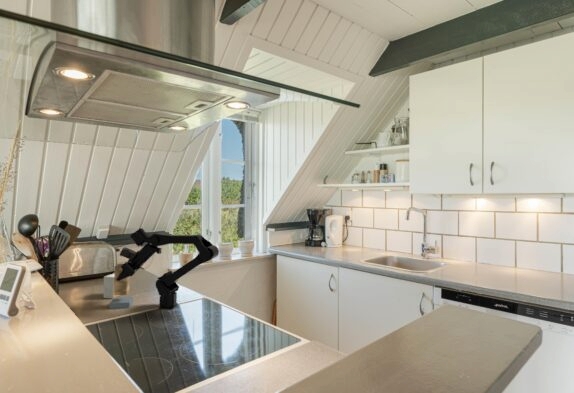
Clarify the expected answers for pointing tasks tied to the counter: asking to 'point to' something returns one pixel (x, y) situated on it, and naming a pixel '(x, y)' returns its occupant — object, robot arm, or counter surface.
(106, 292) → the small box
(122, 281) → the oak pillar
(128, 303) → the slate base block
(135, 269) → the robot arm
